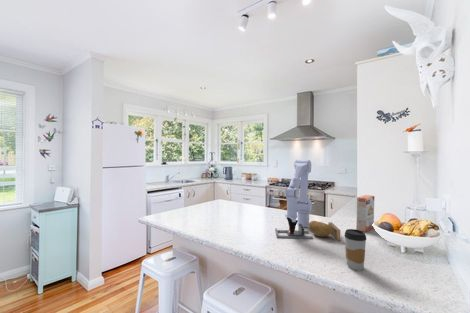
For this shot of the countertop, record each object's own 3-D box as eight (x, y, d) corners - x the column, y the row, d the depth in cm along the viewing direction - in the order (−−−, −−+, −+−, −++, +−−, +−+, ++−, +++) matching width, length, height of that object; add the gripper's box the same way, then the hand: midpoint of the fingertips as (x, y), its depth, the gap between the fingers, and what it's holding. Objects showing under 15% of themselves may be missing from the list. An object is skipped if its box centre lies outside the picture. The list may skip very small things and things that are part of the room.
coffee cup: (358, 262, 101) (359, 228, 100) (370, 271, 92) (371, 235, 92) (340, 262, 100) (340, 228, 100) (350, 272, 92) (350, 235, 92)
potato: (328, 241, 124) (328, 227, 124) (305, 234, 134) (305, 221, 134) (336, 237, 130) (336, 223, 130) (314, 231, 141) (314, 218, 141)
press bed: (275, 230, 142) (275, 221, 142) (331, 232, 139) (331, 222, 139) (277, 238, 128) (277, 228, 128) (340, 240, 125) (340, 230, 125)
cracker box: (366, 232, 138) (366, 198, 137) (356, 230, 142) (356, 197, 142) (374, 227, 147) (374, 195, 146) (364, 225, 151) (364, 194, 151)
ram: (286, 231, 139) (286, 220, 139) (301, 232, 138) (301, 221, 138) (288, 237, 130) (288, 225, 130) (304, 237, 129) (304, 225, 129)
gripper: (283, 204, 141) (283, 226, 141) (286, 210, 127) (286, 234, 127) (295, 205, 141) (295, 226, 141) (299, 211, 126) (299, 235, 126)
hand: (291, 230), depth 134 cm, fingers closed on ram, 3 cm apart
